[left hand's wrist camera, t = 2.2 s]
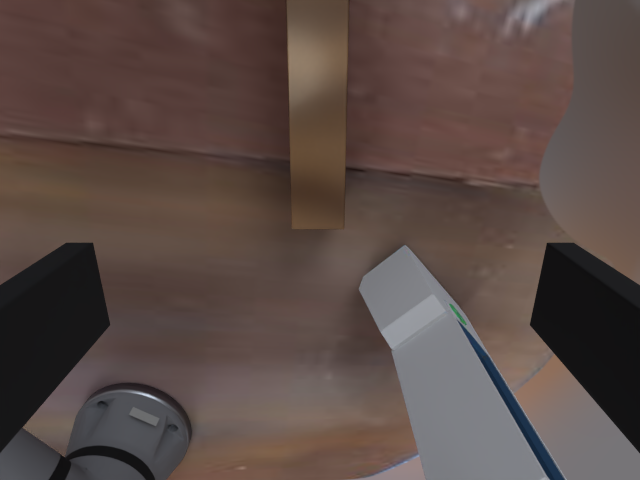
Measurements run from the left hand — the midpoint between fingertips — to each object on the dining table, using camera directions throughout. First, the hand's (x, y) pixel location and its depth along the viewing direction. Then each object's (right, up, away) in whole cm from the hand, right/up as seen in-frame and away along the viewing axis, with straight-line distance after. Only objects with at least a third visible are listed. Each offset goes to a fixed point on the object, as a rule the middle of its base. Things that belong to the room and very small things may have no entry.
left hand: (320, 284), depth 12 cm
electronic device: (+11, -5, +39) cm, 41 cm away
